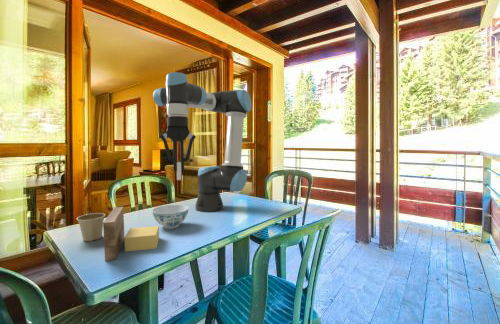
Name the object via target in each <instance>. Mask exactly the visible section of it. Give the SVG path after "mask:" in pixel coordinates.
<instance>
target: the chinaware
mask: <svg viewBox="0 0 500 324" xmlns="http://www.w3.org/2000/svg"><path fill="white" fill-rule="evenodd" d="M151 213H152V216H153V218H154V219H155V221H156V222H157V223H158V224H159V225H160V226H162V228H164V229H166V230H171V229H172V230H173V229H176V228H179V227H180V225H181V224H182V223H183V222H184V221H185V219H186V217H187V216H188V213H189V206H187V205H183V204H166V205H161V206H157V207H155V208H153V209H152V212H151Z"/></svg>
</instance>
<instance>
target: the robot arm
mask: <svg viewBox="0 0 500 324" xmlns="http://www.w3.org/2000/svg"><path fill="white" fill-rule="evenodd" d="M152 97H153V99H152V100H153V101H154V103H155V104H156V105H157V106H158V107H166V115H167V117H166V127H167V128H166V131H165V132H164V133H163V134H161V135H160V137H159V138H160V139H161V141H162V143H163V145H164V148H165V152H166V155H167V159H168V161H169V162H172V163H173V171H174V172H176V180H177V181H182V172H184V171H185V162H187V161H189V160H190V157H191V152H192V147H193V142H194V140H195V139H196V135H194V134H192V133H191V132H190V130H189V118H188V115H189V108H193V109H201V110H202V109H203V110H204V111H206V112H214V113H219V114H224V115H225V116H226V118H227V122H226V137H225V150H224V161H223V163H222V164H221V167H220V166H219V165H214V166H212V165H211V166H206V167H200V168H199V169H198V171H197V183H198V185H197V186H198V189H197V191H198V194H197V195H198V196H197V199H196V202H195V211H198V212H205V213H207V212H208V213H210V212H211V213H212V212H218V211H221V210H223V209H224V202H223V199H222V196H221V191H223V192H231V193H234V192H241V191H243V190H244V188H245V186H246V184H247V179H248V175H247V171H246V170H245V169H244V166H243V164H242V151H243V150H242V149H243V137H244V135H243V133H244V119H245V118H247V115H248V113H249V112H251V110H252V100H251V99H252V98H251V96H250V94H249V92H248V91H247V90H245V89H234V90H224V91H223V90H222V91H217V92H215V91H214V92H207V91H206V90H205V88H203V87H201V86H200V85H197V84H194V83H190V82H188V76H187V75H186V74H185V73H183V72H176V71H175V72H169V73H167V74H166V77H165V87H159V88H156V89H155V90H154V91H153V94H152ZM168 138H169V139H170V140H171V141H172V155H171V152H170V148H169V145H168V141H167V139H168ZM187 138H188V140H189V141H188V144H187V149H186V153H185V143H184V142H185V141H186V139H187ZM178 142H179V155H180V157H179V158H180V160H179V161H178V153H177V152H178V149H177V147H178V146H177V143H178Z"/></svg>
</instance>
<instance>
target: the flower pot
mask: <svg viewBox="0 0 500 324" xmlns="http://www.w3.org/2000/svg"><path fill="white" fill-rule="evenodd" d="M105 217H106V214H105V213H102V212H94V213H86V214H83V215H80V216H78V217H76V220H77V222H78V224H79V227H80V231H81V236H82V240H83V241H84V242H93V241H94V240H97V241H98V240H99V239H101V238H102V237H103V231H104V230H103V222H104V221H105Z"/></svg>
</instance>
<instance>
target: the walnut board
mask: <svg viewBox="0 0 500 324" xmlns="http://www.w3.org/2000/svg"><path fill="white" fill-rule="evenodd" d="M102 231H103V247H104V262H105V261H106V262H108V261H113V260H114V261H115V260H117V258H118V256H119V255H118V254H119V252H120V250H121V247H122V244H123V243H124V238H125V216H124V206H117V207H114V208H113V209H112V210H111V211H110V213H109V214H108V215H107V217H106V218H105V219H104V220H103V230H102Z"/></svg>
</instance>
